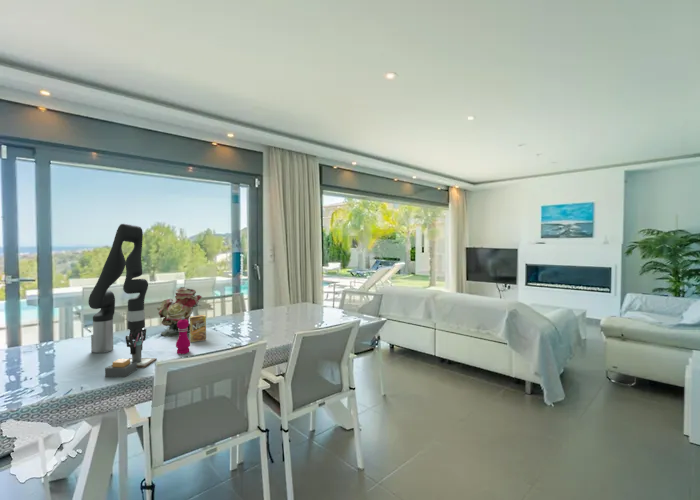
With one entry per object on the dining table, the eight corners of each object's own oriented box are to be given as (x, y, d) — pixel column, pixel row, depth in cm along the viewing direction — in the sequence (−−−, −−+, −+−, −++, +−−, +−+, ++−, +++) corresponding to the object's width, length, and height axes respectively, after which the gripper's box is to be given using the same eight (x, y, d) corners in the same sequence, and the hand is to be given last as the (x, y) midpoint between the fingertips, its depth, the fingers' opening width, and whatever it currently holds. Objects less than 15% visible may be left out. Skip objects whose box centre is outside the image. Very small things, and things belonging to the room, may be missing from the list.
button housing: (105, 377, 159) (105, 368, 159) (117, 369, 168) (117, 361, 168) (125, 377, 159) (125, 368, 159) (136, 369, 168) (136, 361, 168)
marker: (129, 363, 174) (130, 343, 173) (134, 360, 178) (135, 340, 178) (138, 363, 174) (138, 343, 173) (143, 360, 178) (143, 340, 178)
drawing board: (115, 367, 170) (115, 365, 170) (129, 360, 181) (129, 357, 181) (144, 368, 170) (144, 365, 170) (156, 360, 181) (156, 358, 181)
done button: (112, 371, 161) (112, 362, 161) (119, 367, 166) (119, 358, 166) (123, 371, 161) (123, 362, 161) (130, 367, 166) (130, 358, 166)
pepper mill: (176, 355, 189) (175, 318, 188) (175, 351, 196) (175, 315, 195) (190, 353, 192) (190, 317, 192) (189, 349, 199) (189, 314, 198)
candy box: (190, 342, 212) (190, 317, 211) (189, 340, 215) (189, 316, 215) (206, 340, 217) (206, 315, 216) (204, 338, 220) (204, 314, 220)
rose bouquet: (160, 328, 244) (159, 285, 243) (205, 325, 253) (205, 284, 252) (151, 338, 219) (151, 290, 218) (202, 335, 228) (201, 289, 227)
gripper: (137, 315, 182) (137, 347, 183) (119, 322, 168) (119, 357, 168) (151, 315, 182) (151, 348, 183) (135, 322, 168) (135, 357, 168)
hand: (136, 352), depth 176 cm, fingers open, 5 cm apart
